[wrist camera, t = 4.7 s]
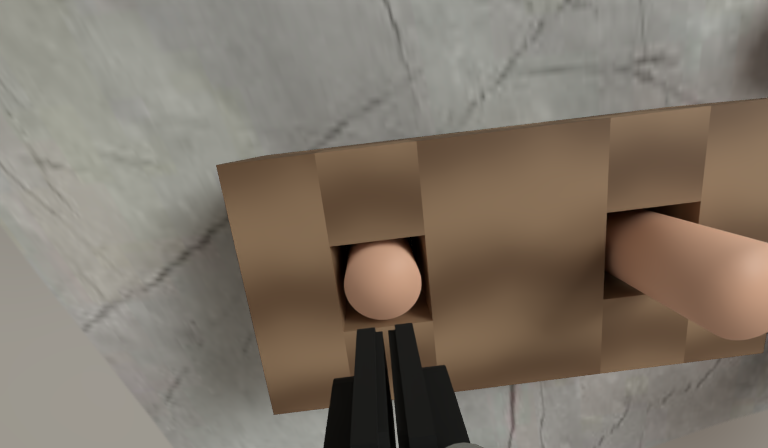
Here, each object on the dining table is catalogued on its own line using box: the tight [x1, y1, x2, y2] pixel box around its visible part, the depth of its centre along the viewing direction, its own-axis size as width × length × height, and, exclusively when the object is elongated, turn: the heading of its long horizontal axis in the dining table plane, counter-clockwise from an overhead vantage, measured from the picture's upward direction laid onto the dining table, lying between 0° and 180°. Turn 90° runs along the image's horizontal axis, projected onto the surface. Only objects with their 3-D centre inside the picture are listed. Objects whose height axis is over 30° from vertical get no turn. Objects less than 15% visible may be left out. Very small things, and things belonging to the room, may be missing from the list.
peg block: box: [216, 98, 768, 415], centre depth 22 cm, size 14×28×8 cm, turn 97°
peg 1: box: [344, 237, 421, 320], centre depth 22 cm, size 4×4×8 cm
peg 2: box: [604, 209, 768, 340], centre depth 17 cm, size 4×4×8 cm
